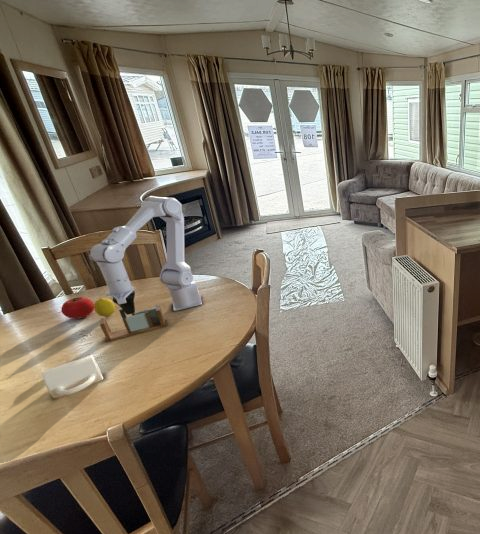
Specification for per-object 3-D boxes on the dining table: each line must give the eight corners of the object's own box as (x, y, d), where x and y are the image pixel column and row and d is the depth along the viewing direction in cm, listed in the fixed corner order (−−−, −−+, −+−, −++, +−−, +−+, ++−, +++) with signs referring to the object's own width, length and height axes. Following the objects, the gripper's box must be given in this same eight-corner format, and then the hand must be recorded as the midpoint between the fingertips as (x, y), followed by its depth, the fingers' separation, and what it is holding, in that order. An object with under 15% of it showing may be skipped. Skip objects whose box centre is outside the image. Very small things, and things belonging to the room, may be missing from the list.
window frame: (165, 320, 128) (159, 305, 125) (165, 326, 125) (159, 310, 122) (108, 335, 119) (101, 318, 116) (107, 341, 116) (99, 324, 113)
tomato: (97, 307, 135) (89, 289, 132) (98, 316, 130) (90, 298, 126) (66, 315, 130) (57, 297, 126) (65, 325, 124) (56, 306, 121)
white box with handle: (53, 388, 96) (41, 366, 93) (101, 371, 103) (90, 350, 100) (57, 411, 89) (43, 389, 86) (107, 391, 96) (96, 369, 93)
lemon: (122, 313, 132) (114, 295, 129) (108, 320, 127) (100, 302, 124) (109, 312, 133) (101, 294, 129) (95, 319, 128) (86, 301, 124)
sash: (152, 325, 124) (144, 303, 120) (152, 326, 123) (144, 304, 119) (128, 331, 120) (118, 309, 116) (128, 333, 119) (118, 310, 115)
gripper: (102, 273, 116) (117, 307, 121) (98, 290, 105) (114, 326, 111) (129, 268, 120) (142, 302, 125) (127, 284, 109) (141, 319, 115)
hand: (131, 313), depth 118 cm, fingers closed, pressing on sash
